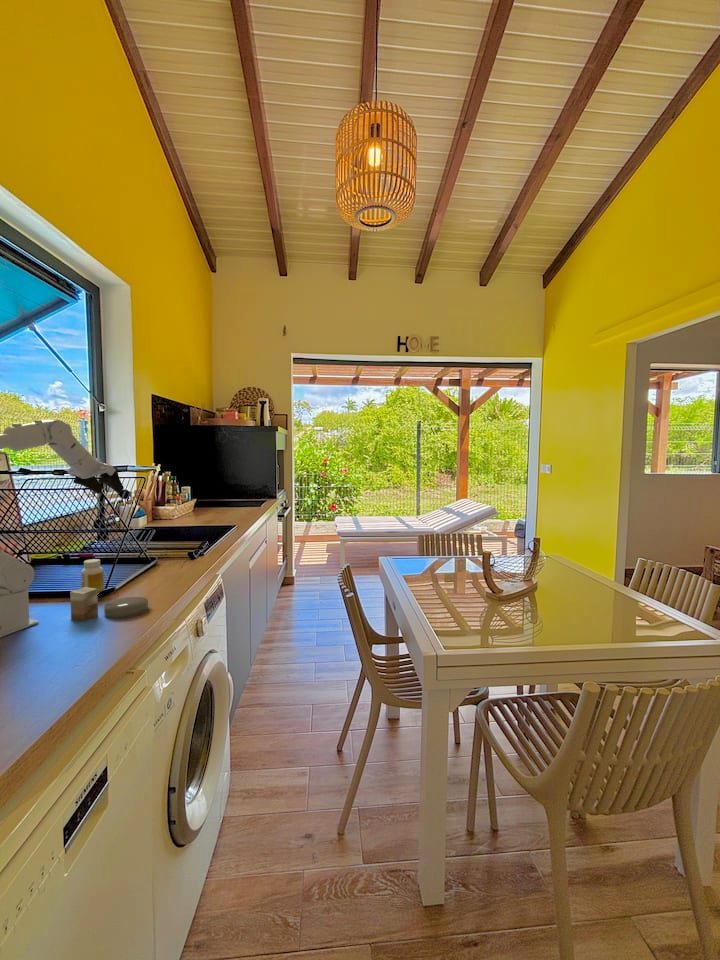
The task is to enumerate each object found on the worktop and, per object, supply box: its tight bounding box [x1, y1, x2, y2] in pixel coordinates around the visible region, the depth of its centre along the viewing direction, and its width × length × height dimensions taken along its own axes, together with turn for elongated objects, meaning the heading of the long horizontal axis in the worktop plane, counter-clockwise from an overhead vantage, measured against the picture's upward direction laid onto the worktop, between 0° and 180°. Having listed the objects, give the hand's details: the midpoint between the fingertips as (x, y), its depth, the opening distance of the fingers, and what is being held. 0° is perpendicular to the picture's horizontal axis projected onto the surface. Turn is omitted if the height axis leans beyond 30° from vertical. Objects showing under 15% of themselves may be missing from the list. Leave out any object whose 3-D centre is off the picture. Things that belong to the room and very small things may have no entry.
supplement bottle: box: [80, 558, 105, 596], centre depth 127 cm, size 5×5×10 cm
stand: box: [103, 596, 149, 619], centre depth 115 cm, size 10×10×2 cm
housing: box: [69, 587, 99, 623], centre depth 110 cm, size 4×4×7 cm
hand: (110, 490), depth 127 cm, fingers open, 7 cm apart
